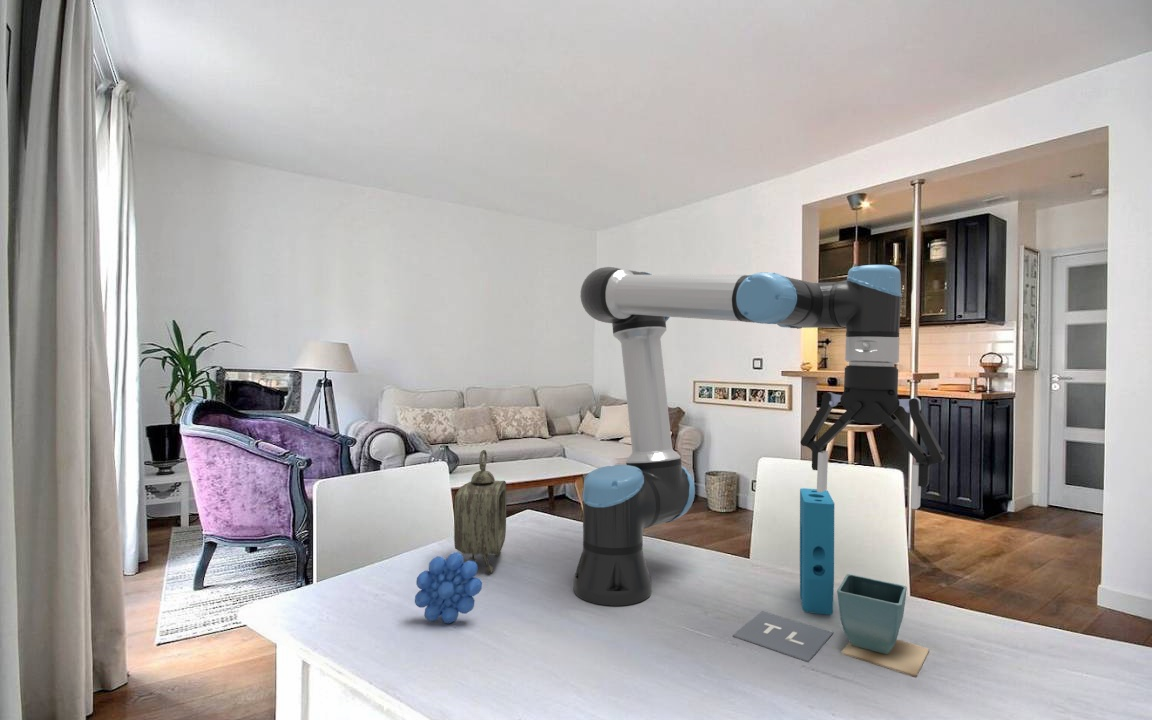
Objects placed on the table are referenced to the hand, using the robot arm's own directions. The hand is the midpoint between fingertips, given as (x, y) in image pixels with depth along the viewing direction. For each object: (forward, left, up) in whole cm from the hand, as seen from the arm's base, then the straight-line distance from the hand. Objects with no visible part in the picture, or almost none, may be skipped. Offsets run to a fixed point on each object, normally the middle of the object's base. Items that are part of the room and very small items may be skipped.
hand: (866, 498), depth 90 cm
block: (-11, +11, -23) cm, 28 cm away
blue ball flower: (-56, -38, -23) cm, 72 cm away
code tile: (-11, -5, -23) cm, 26 cm away
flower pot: (+1, 0, -23) cm, 23 cm away
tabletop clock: (-73, -17, -23) cm, 79 cm away
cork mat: (+3, 0, -23) cm, 23 cm away
